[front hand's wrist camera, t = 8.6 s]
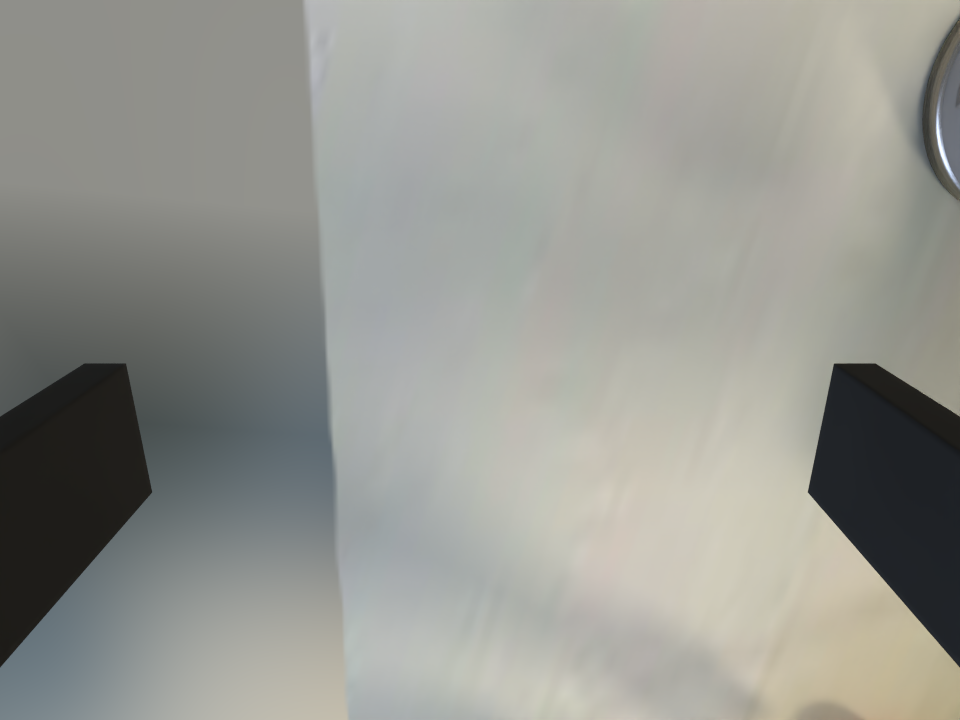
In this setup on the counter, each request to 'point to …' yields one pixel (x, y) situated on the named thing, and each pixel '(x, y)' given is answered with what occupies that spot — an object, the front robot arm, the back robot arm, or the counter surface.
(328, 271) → the counter surface
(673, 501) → the counter surface
